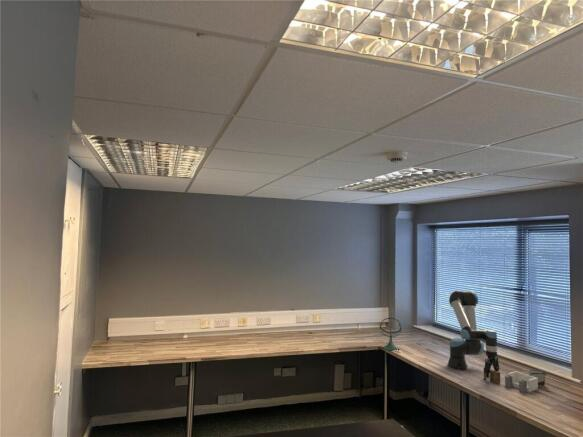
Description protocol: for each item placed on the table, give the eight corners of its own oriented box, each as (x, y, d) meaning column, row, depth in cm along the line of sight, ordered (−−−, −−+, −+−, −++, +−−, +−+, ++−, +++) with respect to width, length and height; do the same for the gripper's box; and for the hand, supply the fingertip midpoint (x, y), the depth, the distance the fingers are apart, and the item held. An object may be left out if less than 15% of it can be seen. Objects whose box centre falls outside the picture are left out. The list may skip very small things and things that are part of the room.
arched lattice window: (540, 382, 283) (540, 369, 284) (546, 385, 277) (546, 372, 278) (525, 382, 283) (524, 369, 284) (530, 385, 277) (530, 372, 277)
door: (483, 378, 290) (483, 368, 290) (485, 378, 291) (485, 367, 291) (498, 383, 280) (498, 372, 280) (500, 383, 281) (500, 372, 281)
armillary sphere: (383, 353, 352) (383, 315, 357) (376, 347, 377) (376, 312, 382) (405, 353, 352) (405, 316, 357) (397, 347, 378) (397, 312, 382)
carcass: (503, 385, 276) (503, 374, 276) (515, 381, 284) (515, 371, 284) (525, 393, 262) (525, 381, 262) (537, 389, 270) (537, 377, 271)
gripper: (487, 354, 278) (488, 384, 276) (504, 350, 289) (504, 379, 288) (478, 351, 284) (478, 381, 283) (494, 347, 296) (495, 376, 294)
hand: (492, 380), depth 285 cm, fingers open, 9 cm apart
